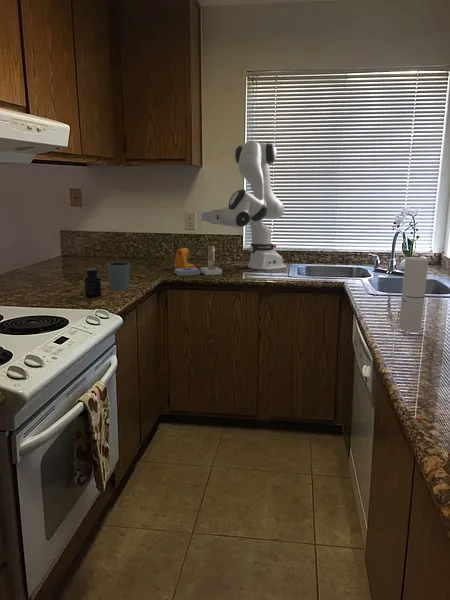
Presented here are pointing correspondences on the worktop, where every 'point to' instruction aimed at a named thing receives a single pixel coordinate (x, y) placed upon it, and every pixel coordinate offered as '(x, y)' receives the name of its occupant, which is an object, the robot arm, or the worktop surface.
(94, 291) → the supplement bottle
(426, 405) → the worktop surface
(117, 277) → the blue cup
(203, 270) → the tray
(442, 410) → the worktop surface
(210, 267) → the dowel
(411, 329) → the cylindrical container
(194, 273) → the block
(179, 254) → the bracket
